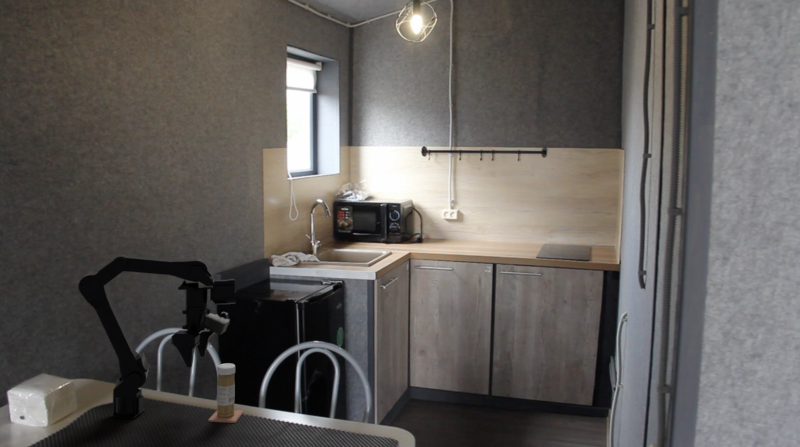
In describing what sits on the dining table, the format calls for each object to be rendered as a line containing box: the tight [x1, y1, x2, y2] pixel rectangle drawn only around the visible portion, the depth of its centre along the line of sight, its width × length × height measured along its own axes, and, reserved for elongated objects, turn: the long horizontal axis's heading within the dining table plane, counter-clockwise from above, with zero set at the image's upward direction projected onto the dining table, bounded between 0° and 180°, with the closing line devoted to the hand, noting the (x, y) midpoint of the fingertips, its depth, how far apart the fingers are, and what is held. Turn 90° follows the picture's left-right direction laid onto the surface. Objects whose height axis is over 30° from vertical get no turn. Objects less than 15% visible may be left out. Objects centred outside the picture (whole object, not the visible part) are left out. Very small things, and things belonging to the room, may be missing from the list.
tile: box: [208, 409, 244, 424], centre depth 157 cm, size 7×7×1 cm
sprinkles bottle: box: [216, 362, 236, 418], centre depth 157 cm, size 5×5×13 cm
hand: (196, 361), depth 161 cm, fingers open, 9 cm apart
